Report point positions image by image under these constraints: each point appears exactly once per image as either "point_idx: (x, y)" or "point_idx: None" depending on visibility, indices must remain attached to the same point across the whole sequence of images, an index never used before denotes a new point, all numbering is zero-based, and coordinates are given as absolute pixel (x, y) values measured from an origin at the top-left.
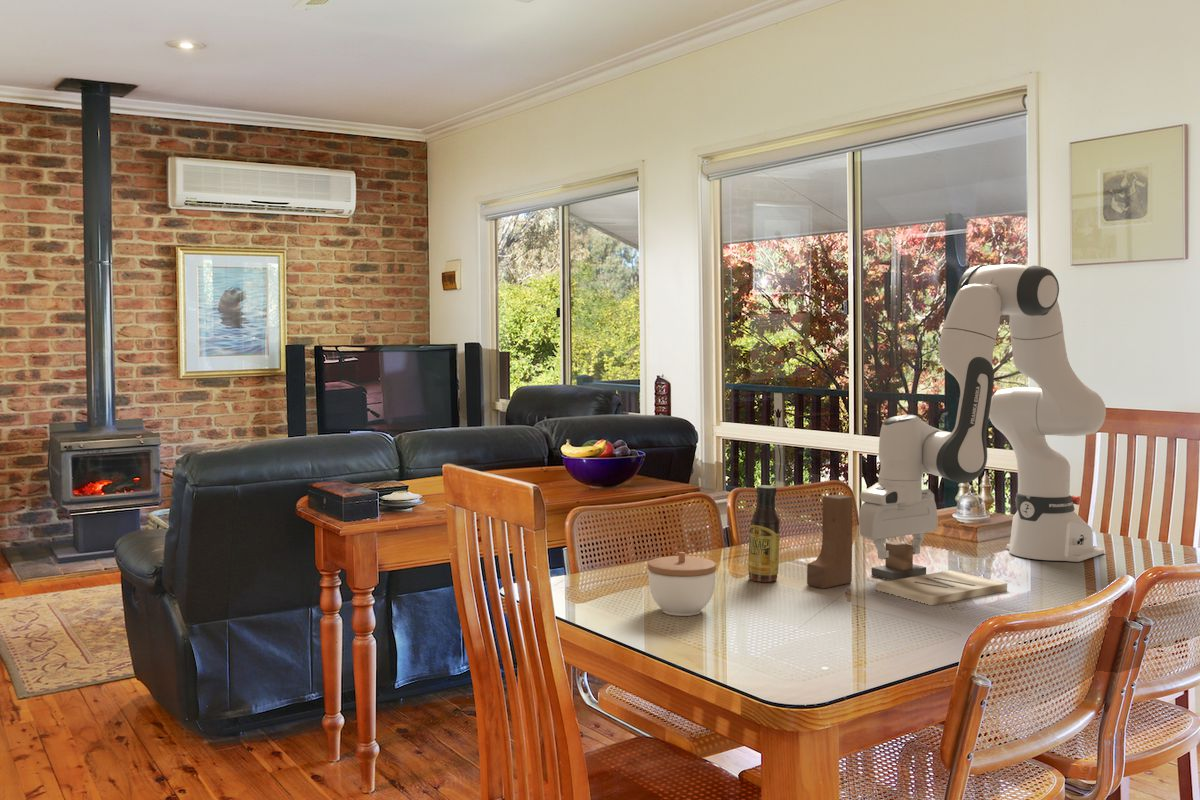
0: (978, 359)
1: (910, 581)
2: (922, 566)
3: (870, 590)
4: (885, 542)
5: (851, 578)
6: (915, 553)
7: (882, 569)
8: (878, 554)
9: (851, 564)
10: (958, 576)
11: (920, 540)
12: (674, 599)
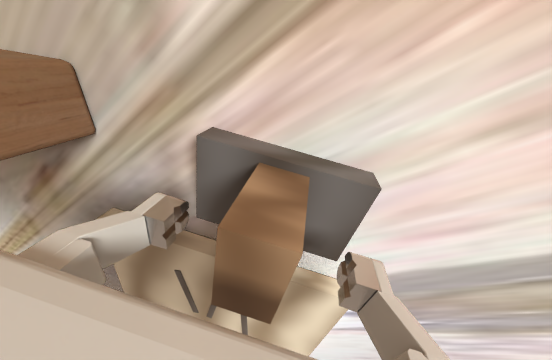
0: None
1: (175, 263)
2: (342, 251)
3: (104, 198)
4: (104, 282)
5: (81, 136)
6: (337, 275)
7: (205, 178)
8: (147, 203)
9: (23, 153)
10: (295, 316)
11: (378, 352)
12: None
